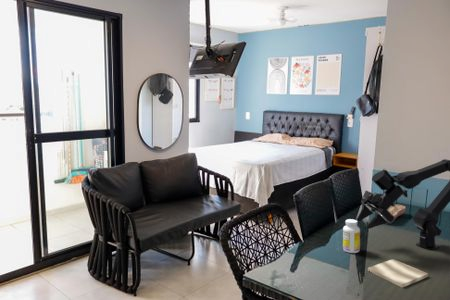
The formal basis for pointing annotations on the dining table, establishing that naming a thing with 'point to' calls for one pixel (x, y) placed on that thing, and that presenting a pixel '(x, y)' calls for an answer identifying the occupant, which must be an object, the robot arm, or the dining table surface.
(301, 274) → the dining table surface
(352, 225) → the supplement bottle
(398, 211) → the anatomical model
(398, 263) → the birch board
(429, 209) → the robot arm
